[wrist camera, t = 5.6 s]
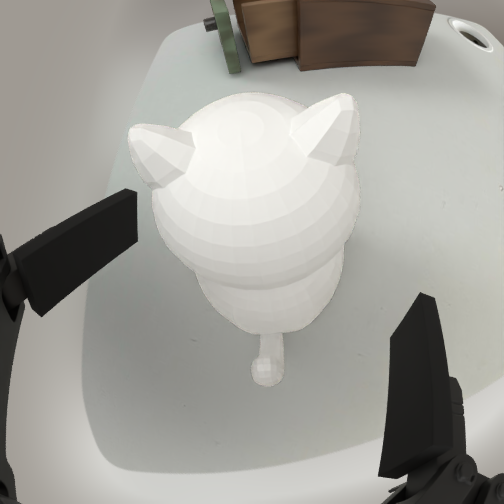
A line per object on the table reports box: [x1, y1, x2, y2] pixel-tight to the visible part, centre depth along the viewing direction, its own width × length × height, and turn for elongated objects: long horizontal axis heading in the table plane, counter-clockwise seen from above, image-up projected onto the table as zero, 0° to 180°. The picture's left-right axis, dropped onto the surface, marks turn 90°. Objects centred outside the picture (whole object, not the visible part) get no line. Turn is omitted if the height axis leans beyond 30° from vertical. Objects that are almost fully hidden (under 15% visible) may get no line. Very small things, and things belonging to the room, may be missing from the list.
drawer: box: [203, 0, 298, 74], centre depth 23 cm, size 15×10×8 cm
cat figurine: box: [128, 92, 361, 386], centre depth 14 cm, size 9×12×15 cm
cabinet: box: [293, 0, 436, 71], centre depth 22 cm, size 15×12×10 cm
